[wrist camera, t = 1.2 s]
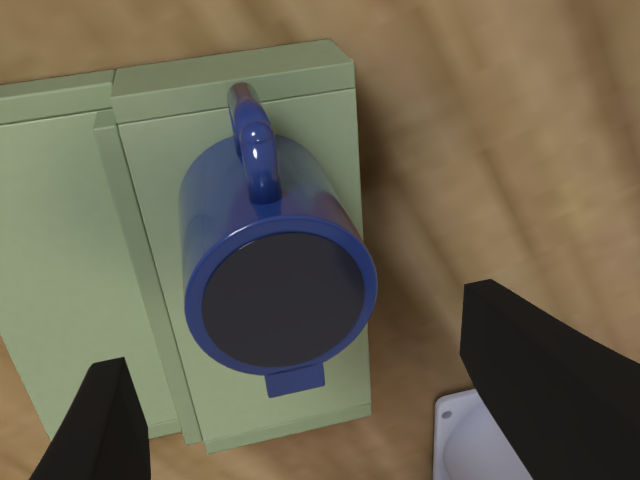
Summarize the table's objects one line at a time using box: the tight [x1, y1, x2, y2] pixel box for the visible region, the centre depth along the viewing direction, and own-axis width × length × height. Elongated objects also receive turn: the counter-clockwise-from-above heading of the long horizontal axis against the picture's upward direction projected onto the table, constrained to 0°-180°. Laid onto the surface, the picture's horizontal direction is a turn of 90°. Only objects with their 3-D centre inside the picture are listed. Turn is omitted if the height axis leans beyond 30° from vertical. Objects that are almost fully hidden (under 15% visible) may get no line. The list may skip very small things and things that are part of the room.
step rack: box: [0, 39, 372, 454], centre depth 22 cm, size 15×13×3 cm
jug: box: [178, 82, 378, 398], centre depth 17 cm, size 7×5×6 cm, turn 4°
